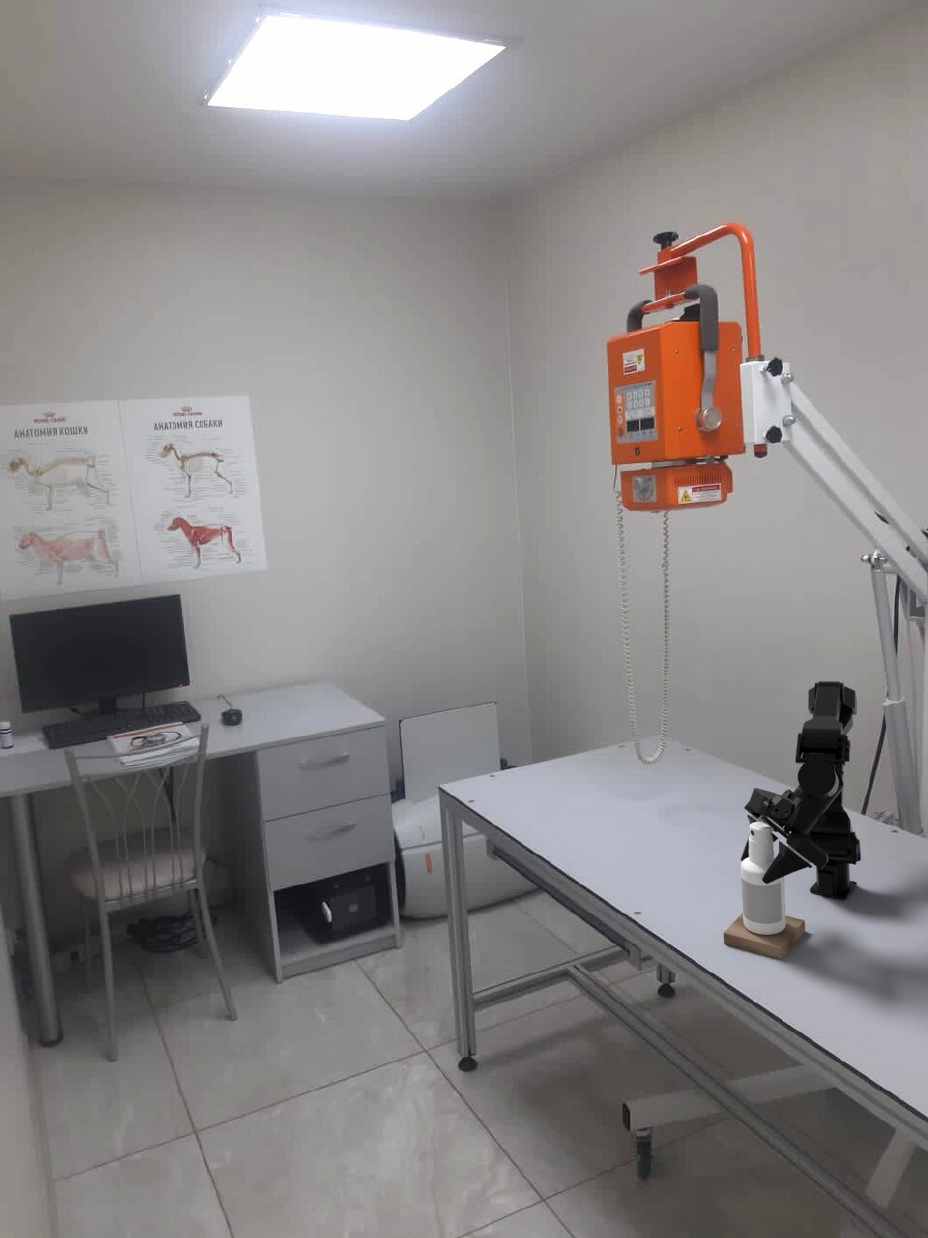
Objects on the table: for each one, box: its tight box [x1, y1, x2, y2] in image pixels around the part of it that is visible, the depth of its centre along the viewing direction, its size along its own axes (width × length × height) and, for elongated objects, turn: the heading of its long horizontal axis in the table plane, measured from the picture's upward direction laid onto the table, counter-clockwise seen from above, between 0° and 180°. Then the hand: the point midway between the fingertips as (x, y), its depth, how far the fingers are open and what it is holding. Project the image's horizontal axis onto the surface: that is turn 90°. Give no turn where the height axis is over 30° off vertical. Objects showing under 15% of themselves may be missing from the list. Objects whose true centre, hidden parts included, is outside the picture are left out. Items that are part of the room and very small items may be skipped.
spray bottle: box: [740, 822, 786, 935], centre depth 164 cm, size 7×7×18 cm
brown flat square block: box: [723, 912, 806, 961], centre depth 165 cm, size 10×10×2 cm
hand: (753, 872), depth 163 cm, fingers open, 7 cm apart
